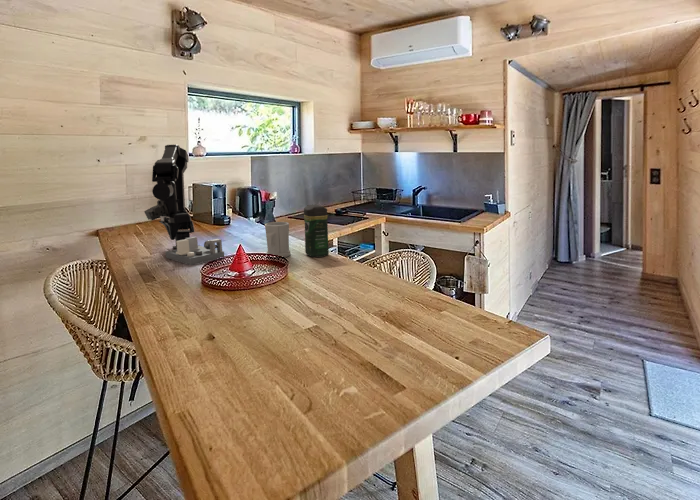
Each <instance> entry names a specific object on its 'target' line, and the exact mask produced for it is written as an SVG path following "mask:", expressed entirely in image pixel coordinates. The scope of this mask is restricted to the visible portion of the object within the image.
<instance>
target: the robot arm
mask: <svg viewBox="0 0 700 500" xmlns="http://www.w3.org/2000/svg"><path fill="white" fill-rule="evenodd" d="M188 163H189V154H188V151H187V150H186V149H184V148H182V147H180V145H179V144H166V145H165V146H164V150H163V154H162V156H161V159H157V160H156V161H155V162H154V164H153V165H152V175H151V182H152V183H156V184H155V185H154V186H153V187H152V190H151V191H152V195H153V197H155V199H157V201H156V203H157V204H156V205H154V206H152V207H150V208H148V209H145V210H144V211H143V212H144V214H145V216H146V219H147V220H151V221H156V220H158V219H160V220H159V221H158V222H159V224H161V225H163V226H164V227H165V229H166V231H167V234H168V237H169V239H170V240H171V241H175V245H174V246H171V247H172V248H173V249H175V250H176V249H177V243H176V241H179V240H184V239H185V238H189V237H191V236H190V235H191V234H192V233H195V226H194V222H193V220H192V217H191V215H190V214H189V212H188V211H187V209H186V203H185V202H186V201H185V198H186V197H185V181H184V178H185V175H184V174H185V172H186V170H187V169H188Z"/></svg>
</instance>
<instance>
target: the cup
mask: <svg viewBox="0 0 700 500" xmlns="http://www.w3.org/2000/svg"><path fill="white" fill-rule="evenodd" d="M264 229H265V237H266V238H265V239H266V245H267V248H266V249H267V251H266V255H267V254H274V255H279V256H283V257H284V258H288V257H289V256H291V250H290V239H289V238H290V234H289V233H290V222H286V221H273V222H267V223H265V224H264Z"/></svg>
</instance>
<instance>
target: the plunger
mask: <svg viewBox="0 0 700 500" xmlns="http://www.w3.org/2000/svg"><path fill="white" fill-rule="evenodd" d="M203 247H205V248H206V249H210V243H209V240H205V242H204V243H203ZM217 247H218V246H217V244H215V249H217Z"/></svg>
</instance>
